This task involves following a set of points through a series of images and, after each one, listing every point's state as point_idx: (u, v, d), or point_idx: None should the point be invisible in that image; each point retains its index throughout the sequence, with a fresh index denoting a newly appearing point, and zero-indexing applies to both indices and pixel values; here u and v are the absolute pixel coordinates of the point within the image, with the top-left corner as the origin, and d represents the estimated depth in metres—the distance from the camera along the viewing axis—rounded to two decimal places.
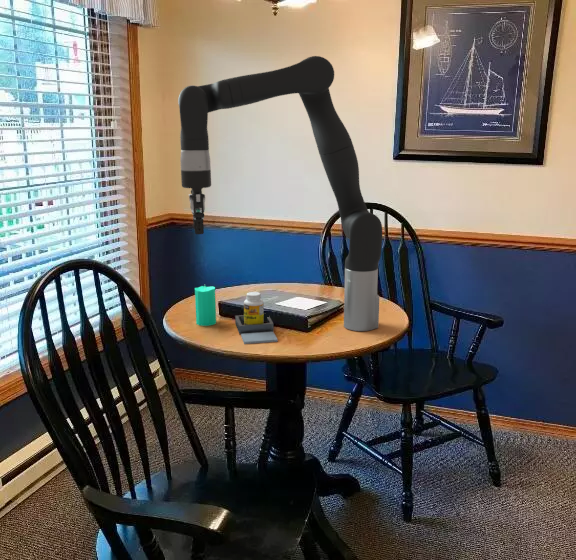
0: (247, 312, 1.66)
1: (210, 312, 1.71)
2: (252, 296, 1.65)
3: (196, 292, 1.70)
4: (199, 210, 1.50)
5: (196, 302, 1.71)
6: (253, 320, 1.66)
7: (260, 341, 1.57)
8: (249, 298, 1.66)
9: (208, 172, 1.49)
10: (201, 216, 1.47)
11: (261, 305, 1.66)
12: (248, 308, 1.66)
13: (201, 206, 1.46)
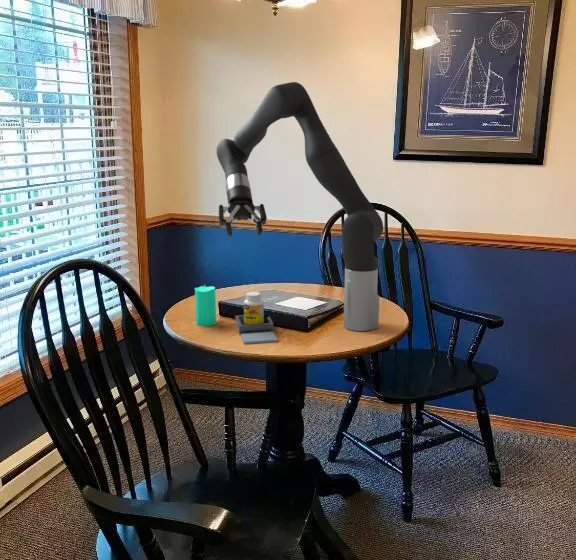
0: (247, 312, 1.66)
1: (210, 312, 1.71)
2: (252, 296, 1.65)
3: (196, 292, 1.70)
4: None
5: (196, 302, 1.71)
6: (253, 320, 1.66)
7: (260, 341, 1.57)
8: (249, 298, 1.66)
9: (233, 187, 1.80)
10: (219, 220, 1.76)
11: (261, 305, 1.66)
12: (248, 308, 1.66)
13: (219, 214, 1.77)
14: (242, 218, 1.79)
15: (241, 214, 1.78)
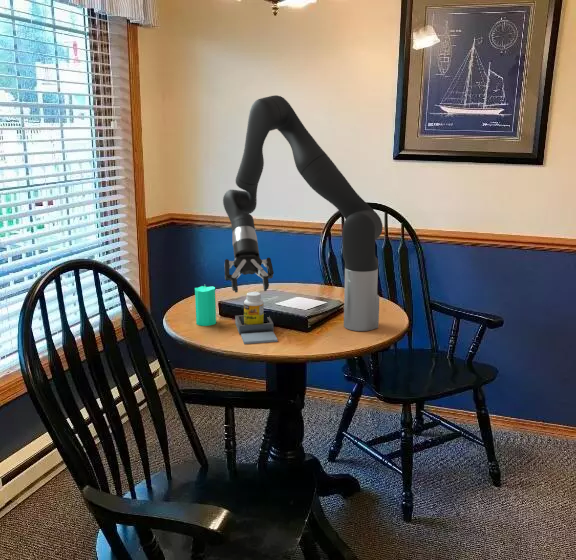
0: (247, 312, 1.66)
1: (210, 312, 1.71)
2: (252, 296, 1.65)
3: (196, 292, 1.70)
4: None
5: (196, 302, 1.71)
6: (253, 320, 1.66)
7: (260, 341, 1.57)
8: (249, 298, 1.66)
9: (239, 241, 1.76)
10: (225, 276, 1.72)
11: (261, 305, 1.66)
12: (248, 308, 1.66)
13: (225, 268, 1.73)
14: (248, 273, 1.75)
15: (247, 269, 1.74)
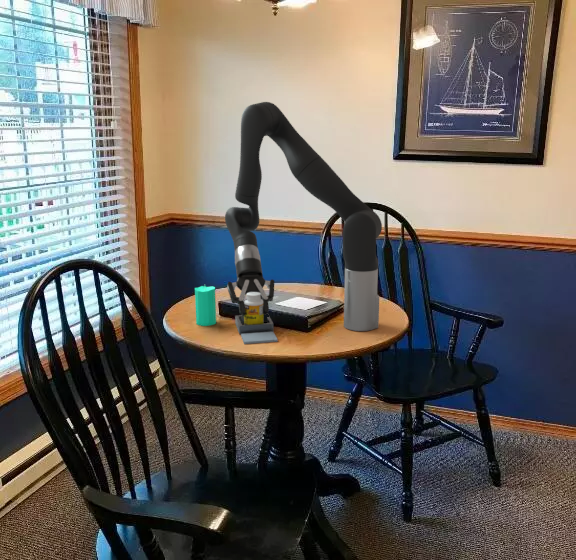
0: (247, 312, 1.66)
1: (210, 312, 1.71)
2: (252, 296, 1.65)
3: (196, 292, 1.70)
4: None
5: (196, 302, 1.71)
6: (253, 320, 1.66)
7: (260, 341, 1.57)
8: (249, 298, 1.66)
9: (242, 261, 1.71)
10: (232, 299, 1.67)
11: (261, 305, 1.66)
12: (248, 308, 1.66)
13: (230, 292, 1.68)
14: None
15: (250, 289, 1.69)
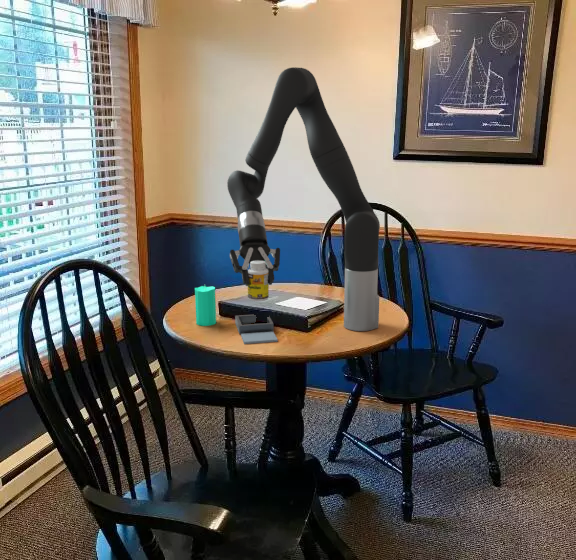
0: (251, 281, 1.54)
1: (210, 312, 1.71)
2: (257, 264, 1.54)
3: (196, 292, 1.70)
4: None
5: (196, 302, 1.71)
6: (258, 290, 1.55)
7: (260, 341, 1.57)
8: (253, 266, 1.54)
9: (245, 227, 1.60)
10: (235, 268, 1.56)
11: (266, 274, 1.55)
12: (251, 277, 1.54)
13: (232, 260, 1.57)
14: None
15: (254, 258, 1.58)
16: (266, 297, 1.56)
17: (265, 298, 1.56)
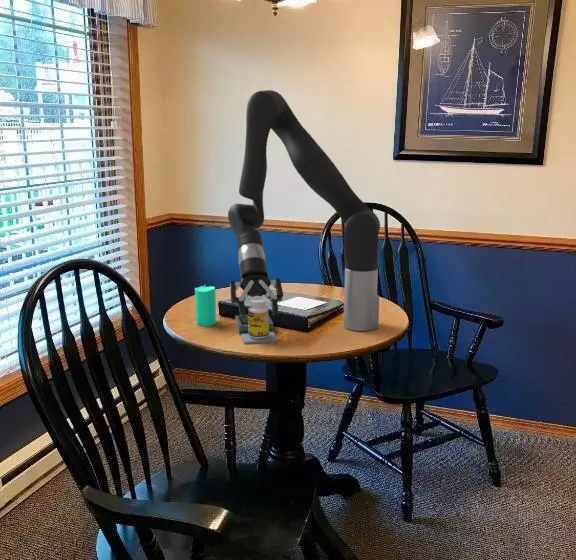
0: (252, 320, 1.57)
1: (210, 312, 1.71)
2: (257, 303, 1.56)
3: (196, 292, 1.70)
4: None
5: (196, 302, 1.71)
6: (258, 328, 1.57)
7: (260, 341, 1.57)
8: (253, 305, 1.57)
9: (246, 260, 1.62)
10: (232, 299, 1.58)
11: (266, 312, 1.57)
12: (252, 316, 1.57)
13: (231, 291, 1.59)
14: (256, 295, 1.61)
15: (255, 291, 1.60)
16: (266, 334, 1.59)
17: (265, 335, 1.59)
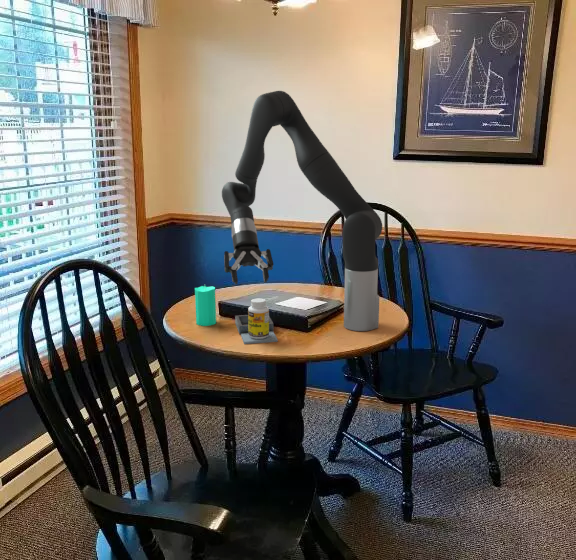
0: (252, 320, 1.57)
1: (210, 312, 1.71)
2: (257, 303, 1.56)
3: (196, 292, 1.70)
4: None
5: (196, 302, 1.71)
6: (258, 328, 1.57)
7: (260, 341, 1.57)
8: (254, 305, 1.57)
9: (238, 233, 1.76)
10: (225, 268, 1.72)
11: (266, 312, 1.57)
12: (252, 316, 1.57)
13: (224, 260, 1.73)
14: (248, 265, 1.75)
15: (247, 260, 1.73)
16: (266, 335, 1.59)
17: (265, 336, 1.59)
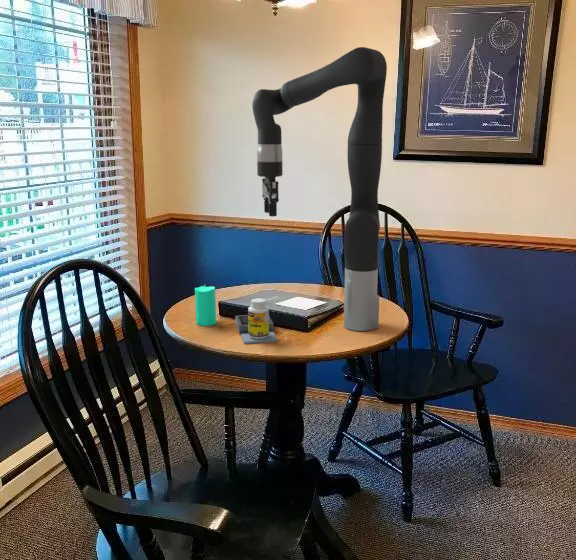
0: (252, 320, 1.57)
1: (210, 312, 1.71)
2: (257, 303, 1.56)
3: (196, 292, 1.70)
4: (273, 195, 1.75)
5: (196, 302, 1.71)
6: (258, 328, 1.57)
7: (260, 341, 1.57)
8: (254, 305, 1.57)
9: (281, 163, 1.75)
10: (276, 200, 1.72)
11: (266, 312, 1.57)
12: (252, 316, 1.57)
13: (276, 192, 1.71)
14: None
15: None
16: (266, 335, 1.59)
17: (265, 336, 1.59)
